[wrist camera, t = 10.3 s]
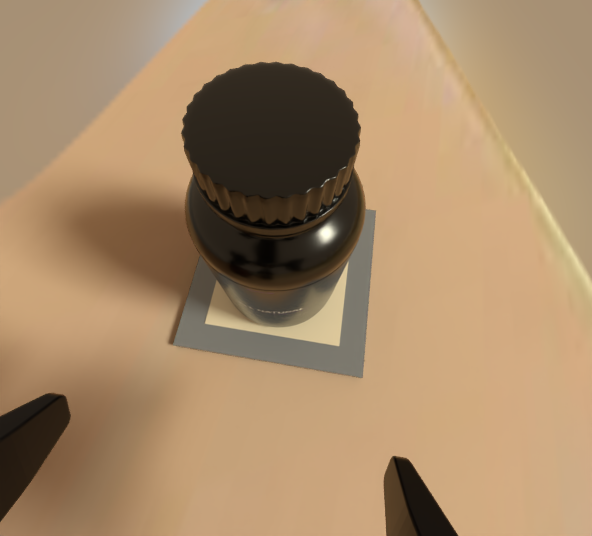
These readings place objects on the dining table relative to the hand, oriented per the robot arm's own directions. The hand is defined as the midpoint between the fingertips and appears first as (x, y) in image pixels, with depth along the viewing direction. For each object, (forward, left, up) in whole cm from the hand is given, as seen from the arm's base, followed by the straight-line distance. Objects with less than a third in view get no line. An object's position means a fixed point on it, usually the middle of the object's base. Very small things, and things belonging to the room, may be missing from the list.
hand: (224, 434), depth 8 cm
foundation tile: (+4, +7, -9) cm, 12 cm away
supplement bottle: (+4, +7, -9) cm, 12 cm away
